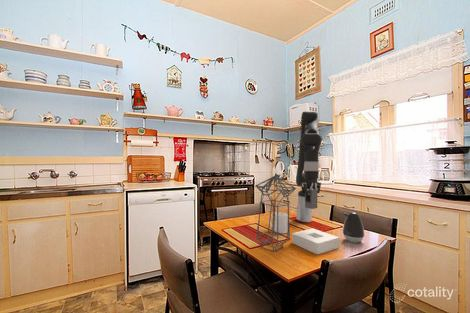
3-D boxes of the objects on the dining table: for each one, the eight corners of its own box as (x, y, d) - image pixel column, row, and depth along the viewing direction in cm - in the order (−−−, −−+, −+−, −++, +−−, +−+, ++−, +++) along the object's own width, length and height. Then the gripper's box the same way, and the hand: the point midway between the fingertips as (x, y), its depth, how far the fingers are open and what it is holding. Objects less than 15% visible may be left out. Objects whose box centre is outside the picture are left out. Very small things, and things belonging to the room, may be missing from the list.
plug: (304, 207, 125) (305, 189, 125) (310, 206, 127) (310, 188, 128) (311, 208, 121) (311, 189, 121) (317, 208, 124) (317, 189, 124)
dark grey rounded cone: (345, 236, 130) (345, 209, 130) (365, 240, 123) (366, 212, 123) (339, 241, 122) (340, 212, 122) (361, 246, 115) (362, 215, 115)
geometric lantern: (269, 239, 123) (272, 174, 123) (295, 248, 112) (298, 177, 111) (249, 246, 112) (252, 174, 112) (275, 257, 101) (279, 178, 101)
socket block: (291, 243, 118) (291, 233, 118) (312, 237, 127) (312, 228, 127) (317, 254, 105) (317, 243, 105) (339, 247, 113) (339, 237, 113)
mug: (266, 231, 136) (266, 214, 136) (269, 227, 143) (270, 211, 143) (286, 234, 131) (287, 216, 131) (289, 230, 139) (289, 213, 139)
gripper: (314, 169, 132) (314, 199, 131) (296, 169, 124) (296, 201, 124) (325, 170, 125) (325, 201, 125) (307, 170, 118) (307, 203, 117)
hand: (311, 201), depth 124 cm, fingers closed on plug, 4 cm apart
